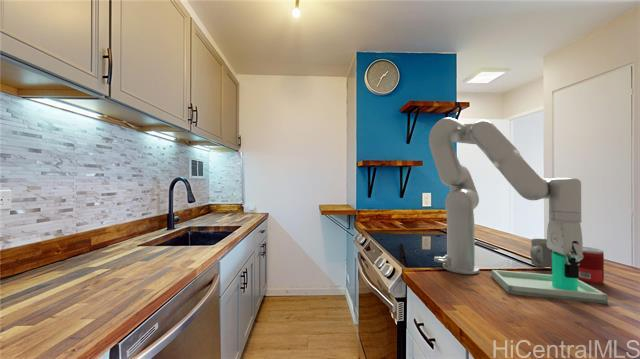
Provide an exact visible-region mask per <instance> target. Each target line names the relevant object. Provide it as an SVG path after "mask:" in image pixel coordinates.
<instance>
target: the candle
mask: <svg viewBox="0 0 640 359" xmlns="http://www.w3.org/2000/svg"><path fill="white" fill-rule="evenodd" d="M569 258H570V259H571V258H572V257H571V256H569ZM565 264H566V260H565V255H563V254H560V253H557V252H555V251H554V252H552V269H551V275H552V286H554V287H555V288H558V289H562V290H573V291H578V278H567V277H565Z"/></svg>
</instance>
